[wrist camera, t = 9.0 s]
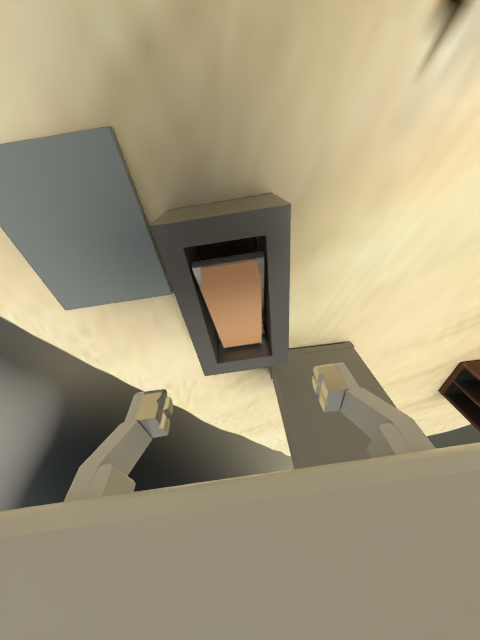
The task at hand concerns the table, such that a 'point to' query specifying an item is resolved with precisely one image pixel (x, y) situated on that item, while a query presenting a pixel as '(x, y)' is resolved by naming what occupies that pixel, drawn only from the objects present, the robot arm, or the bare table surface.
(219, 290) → the tile
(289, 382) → the grey flat-topped box
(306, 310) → the table surface
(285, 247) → the pocket block
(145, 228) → the mat
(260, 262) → the plate
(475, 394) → the letter holder
